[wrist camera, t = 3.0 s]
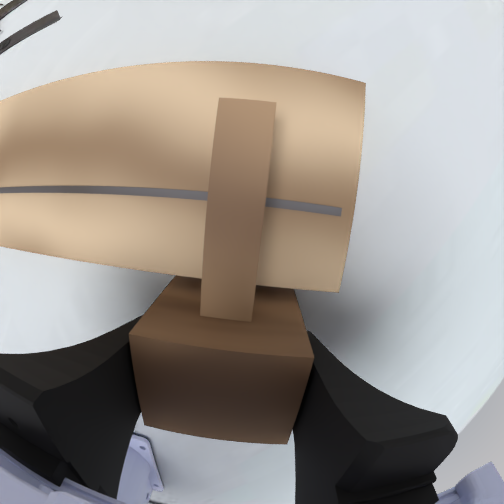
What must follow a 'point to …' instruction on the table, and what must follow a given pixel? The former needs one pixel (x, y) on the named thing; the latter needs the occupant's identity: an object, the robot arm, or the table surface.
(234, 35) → the table surface
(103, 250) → the board
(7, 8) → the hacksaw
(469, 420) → the table surface
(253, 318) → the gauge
